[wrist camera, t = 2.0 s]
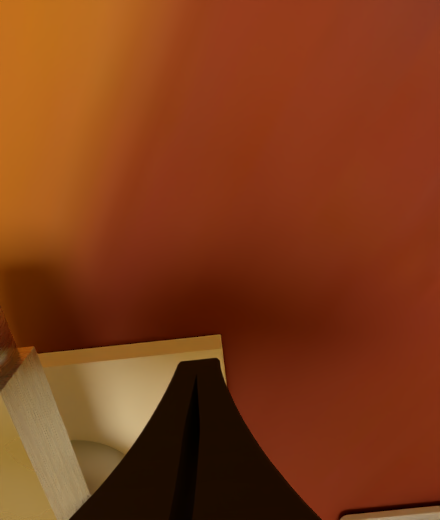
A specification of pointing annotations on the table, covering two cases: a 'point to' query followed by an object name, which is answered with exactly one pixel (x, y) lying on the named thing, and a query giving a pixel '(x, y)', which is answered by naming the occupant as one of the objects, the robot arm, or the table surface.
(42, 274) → the table surface
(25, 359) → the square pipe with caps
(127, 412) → the base
